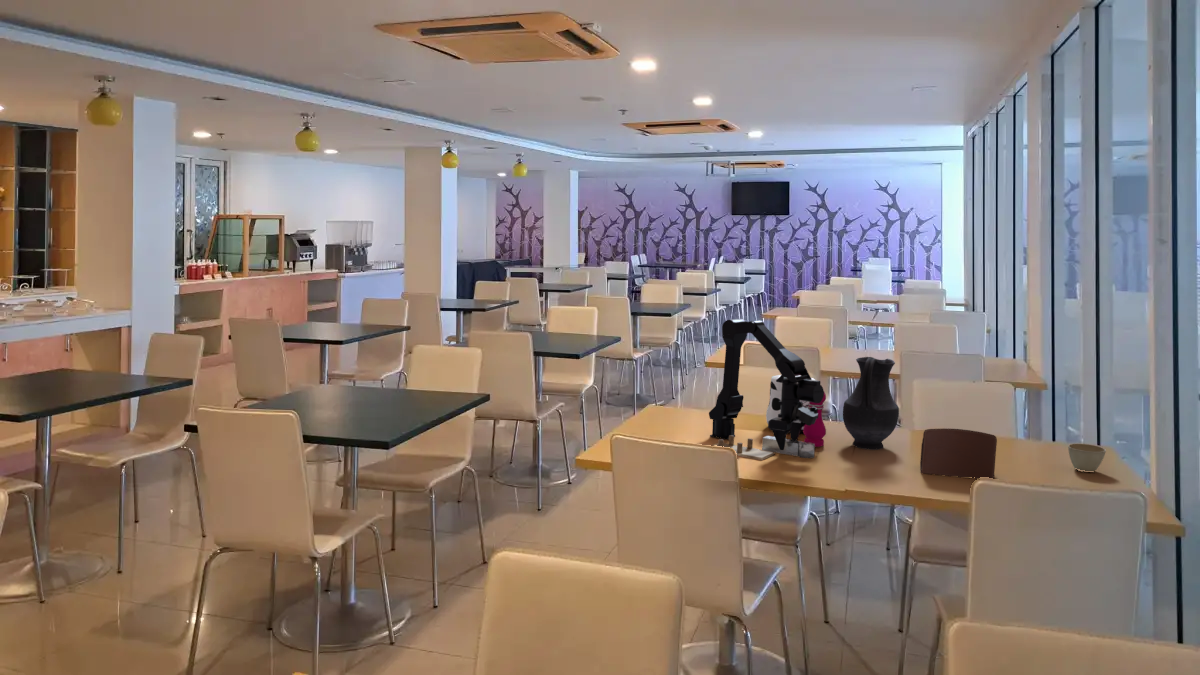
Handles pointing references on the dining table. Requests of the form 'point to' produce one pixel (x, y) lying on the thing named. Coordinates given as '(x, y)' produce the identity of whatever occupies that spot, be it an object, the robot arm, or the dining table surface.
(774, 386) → the milk container
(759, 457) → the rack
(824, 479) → the dining table surface
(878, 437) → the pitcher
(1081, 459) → the grey bowl
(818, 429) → the pepper mill
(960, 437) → the letter holder
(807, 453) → the round-headed grey paddle
